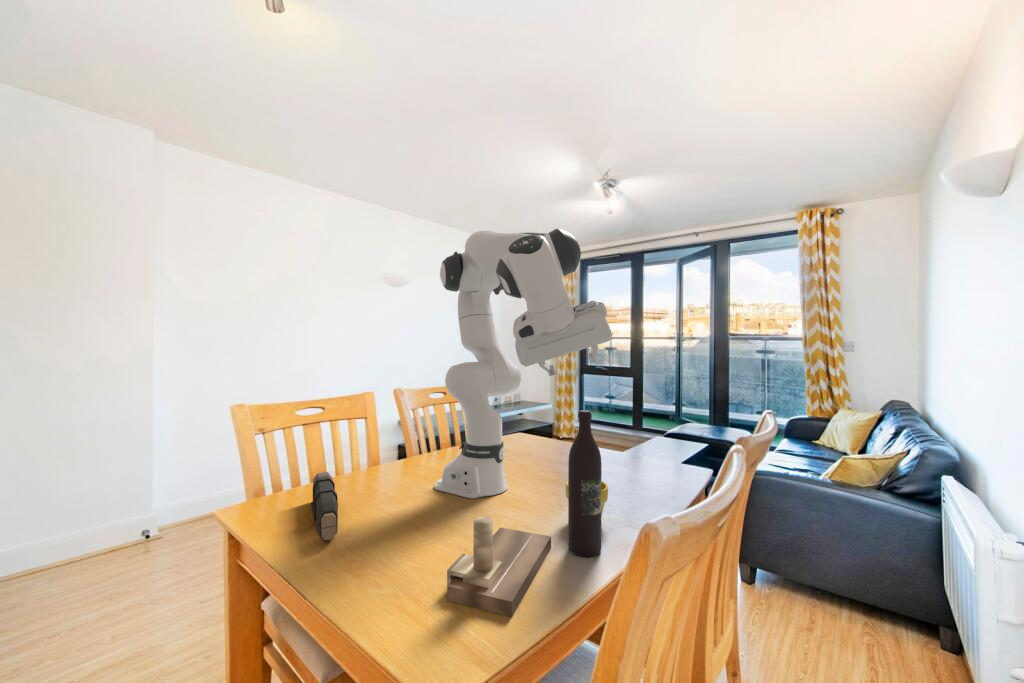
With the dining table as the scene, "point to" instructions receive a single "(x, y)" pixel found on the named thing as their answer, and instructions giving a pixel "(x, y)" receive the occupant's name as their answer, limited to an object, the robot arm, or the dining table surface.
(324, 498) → the dark grey segmented bar
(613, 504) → the dining table surface
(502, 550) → the board
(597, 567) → the dining table surface
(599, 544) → the wine bottle
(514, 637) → the dining table surface
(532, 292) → the robot arm
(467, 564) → the beige peg stand
